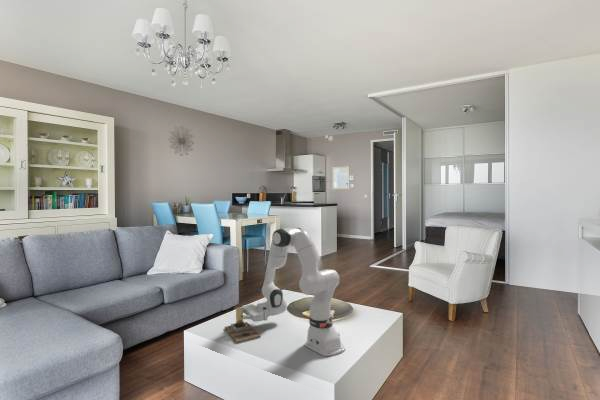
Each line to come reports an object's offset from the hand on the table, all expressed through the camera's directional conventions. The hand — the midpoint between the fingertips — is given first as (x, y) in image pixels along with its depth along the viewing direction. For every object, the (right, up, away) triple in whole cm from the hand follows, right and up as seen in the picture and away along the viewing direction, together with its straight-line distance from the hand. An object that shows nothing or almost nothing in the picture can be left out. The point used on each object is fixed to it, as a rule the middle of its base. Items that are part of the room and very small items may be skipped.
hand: (239, 315), depth 200 cm
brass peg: (0, -8, 0) cm, 8 cm away
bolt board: (+2, -9, -3) cm, 10 cm away
